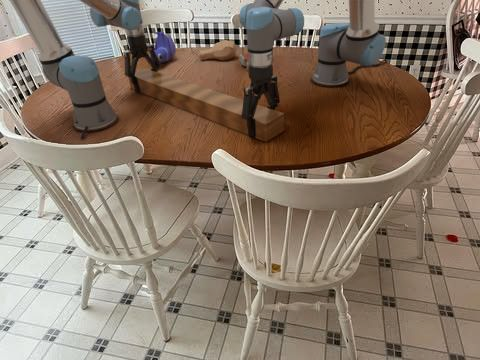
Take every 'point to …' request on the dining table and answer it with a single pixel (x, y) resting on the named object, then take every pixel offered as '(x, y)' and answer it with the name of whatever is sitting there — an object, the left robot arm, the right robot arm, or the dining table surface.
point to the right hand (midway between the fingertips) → (261, 130)
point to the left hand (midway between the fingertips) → (146, 87)
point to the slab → (208, 103)
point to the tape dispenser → (244, 60)
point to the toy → (164, 47)
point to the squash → (220, 51)
